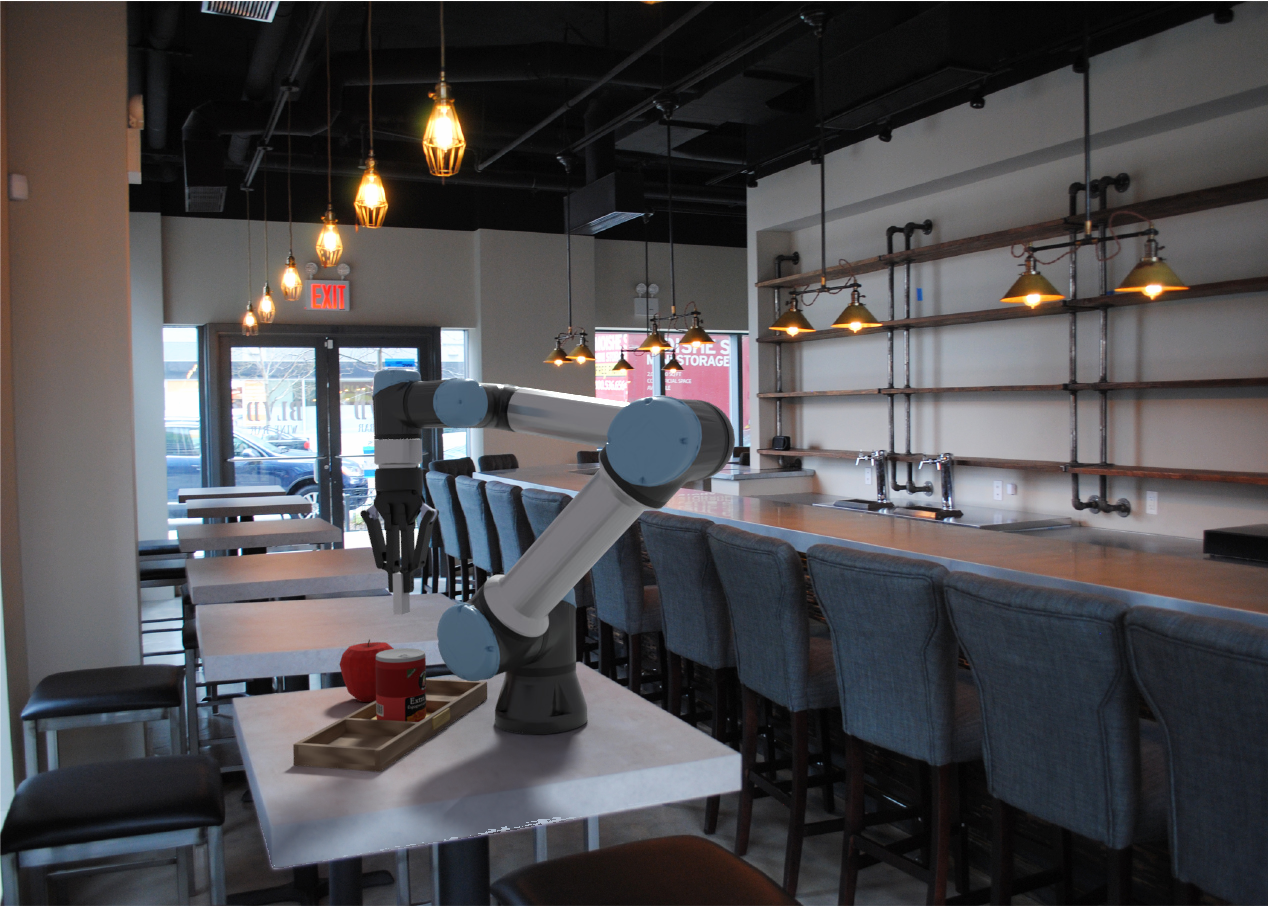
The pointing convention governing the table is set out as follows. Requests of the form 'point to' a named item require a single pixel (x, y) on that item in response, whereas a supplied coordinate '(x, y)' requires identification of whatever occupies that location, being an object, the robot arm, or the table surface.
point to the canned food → (401, 685)
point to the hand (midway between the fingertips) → (401, 613)
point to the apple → (361, 669)
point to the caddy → (387, 730)
